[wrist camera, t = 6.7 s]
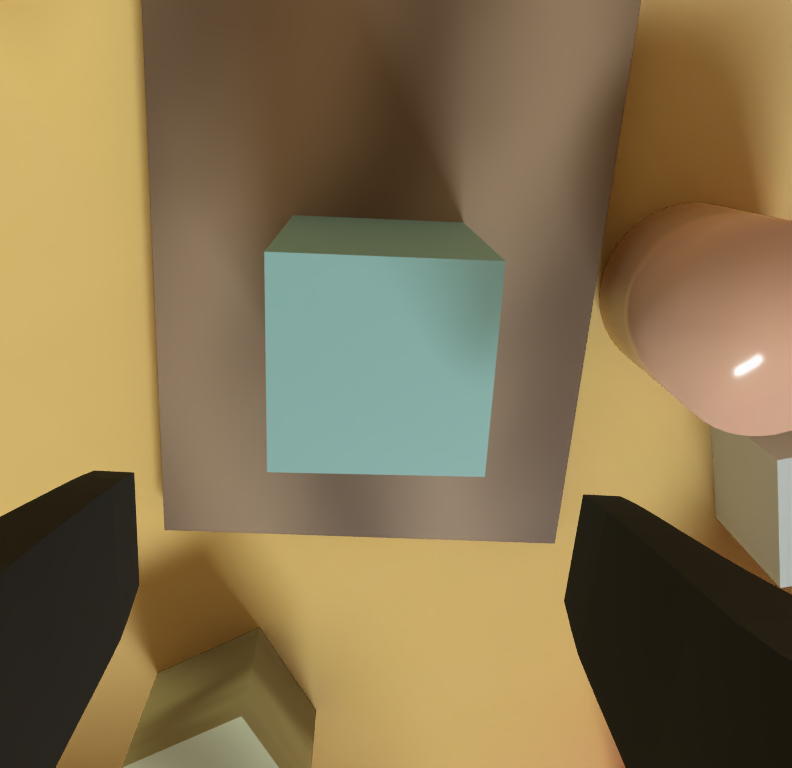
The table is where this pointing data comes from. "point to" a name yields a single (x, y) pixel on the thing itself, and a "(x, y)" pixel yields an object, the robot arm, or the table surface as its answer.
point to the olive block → (226, 712)
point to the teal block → (380, 346)
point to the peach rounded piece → (708, 312)
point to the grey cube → (756, 497)
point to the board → (376, 199)
